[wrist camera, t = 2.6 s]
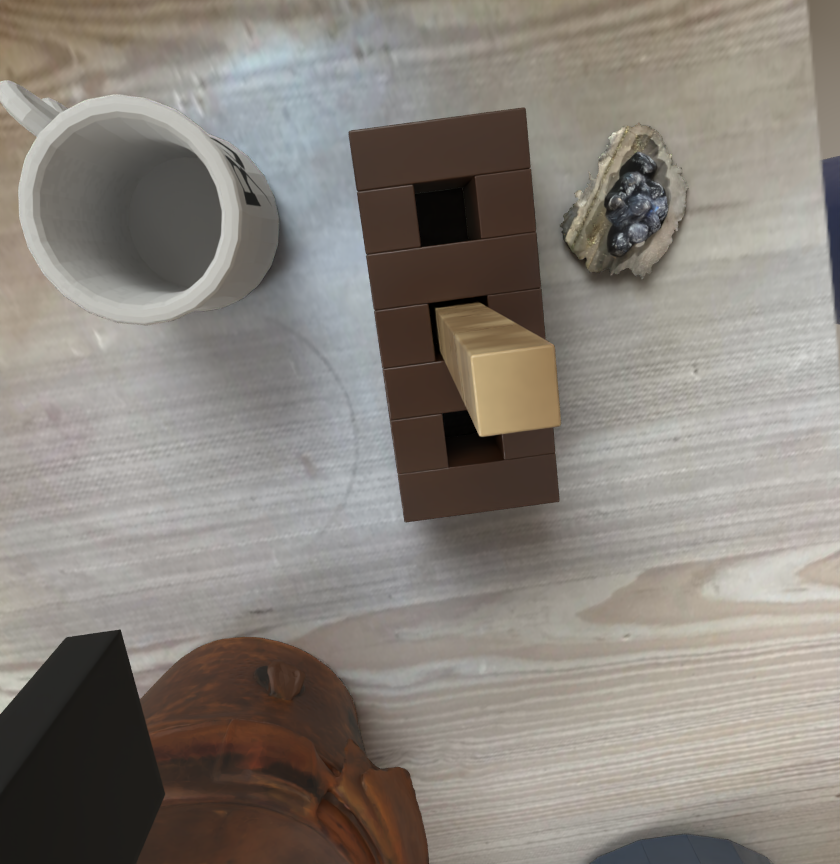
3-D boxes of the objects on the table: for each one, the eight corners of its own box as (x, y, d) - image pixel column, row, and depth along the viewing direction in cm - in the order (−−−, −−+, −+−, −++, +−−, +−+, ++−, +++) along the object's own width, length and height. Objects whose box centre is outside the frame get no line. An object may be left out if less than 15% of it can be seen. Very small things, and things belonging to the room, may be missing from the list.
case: (443, 805, 48) (472, 1122, 30) (154, 864, 48) (17, 1211, 31) (386, 565, 43) (381, 775, 26) (67, 632, 44) (-149, 883, 26)
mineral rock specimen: (551, 270, 39) (558, 270, 37) (573, 115, 37) (582, 107, 36) (670, 282, 40) (683, 284, 38) (697, 129, 38) (713, 123, 36)
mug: (317, 220, 38) (290, 208, 28) (210, 344, 40) (149, 373, 30) (132, 45, 36) (34, -32, 26) (24, 184, 37) (-106, 159, 28)
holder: (355, 149, 37) (347, 130, 32) (505, 129, 37) (525, 106, 32) (403, 485, 42) (404, 522, 36) (537, 467, 42) (560, 502, 36)
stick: (468, 295, 39) (555, 344, 18) (473, 334, 40) (562, 427, 19) (429, 300, 39) (469, 355, 18) (434, 340, 40) (479, 438, 19)
